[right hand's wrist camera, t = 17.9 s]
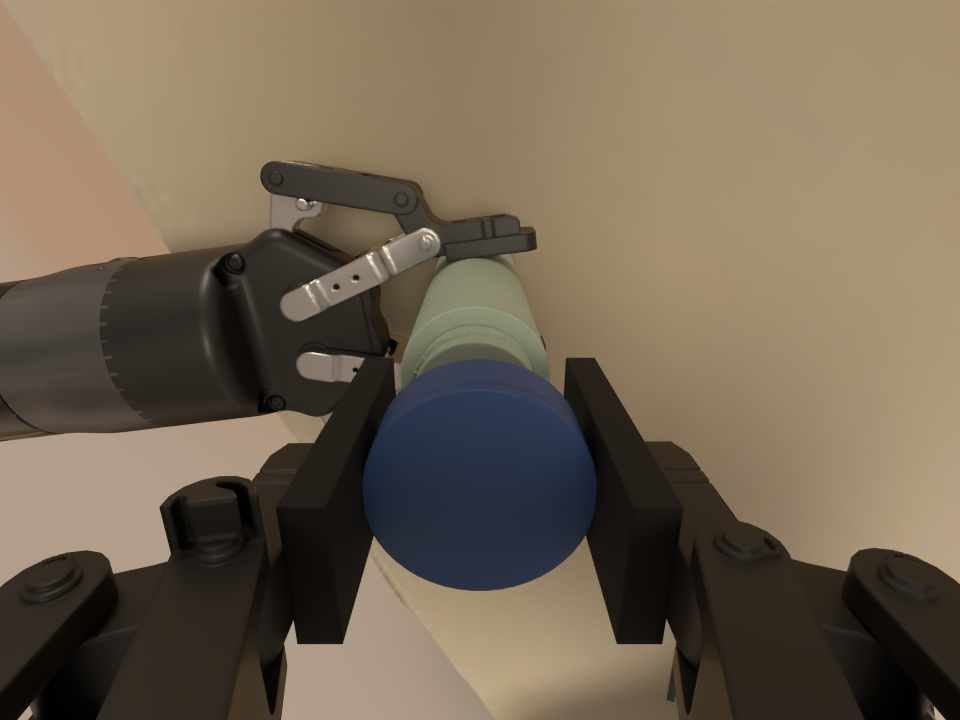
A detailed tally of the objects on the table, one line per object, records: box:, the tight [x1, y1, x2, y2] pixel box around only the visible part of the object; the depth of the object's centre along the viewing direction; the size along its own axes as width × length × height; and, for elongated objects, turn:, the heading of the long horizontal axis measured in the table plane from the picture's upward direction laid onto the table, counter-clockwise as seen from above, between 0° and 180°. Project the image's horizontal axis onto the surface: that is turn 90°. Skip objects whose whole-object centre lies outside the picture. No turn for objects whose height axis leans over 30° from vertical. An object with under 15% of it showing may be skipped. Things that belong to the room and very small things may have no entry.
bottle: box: [400, 254, 550, 390], centre depth 21 cm, size 4×4×16 cm
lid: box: [362, 359, 598, 591], centre depth 11 cm, size 5×5×2 cm
